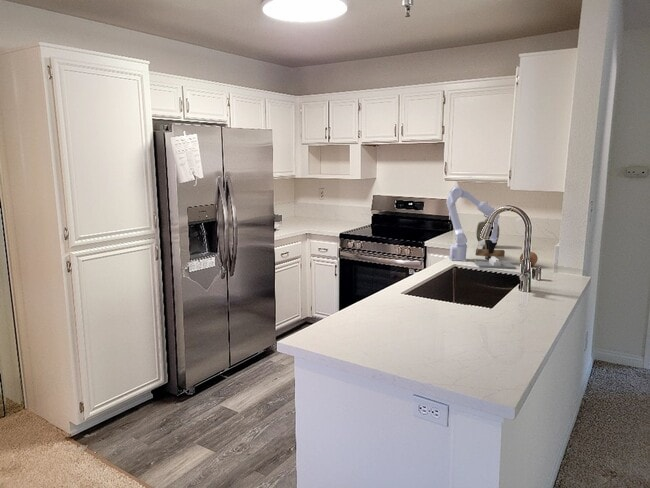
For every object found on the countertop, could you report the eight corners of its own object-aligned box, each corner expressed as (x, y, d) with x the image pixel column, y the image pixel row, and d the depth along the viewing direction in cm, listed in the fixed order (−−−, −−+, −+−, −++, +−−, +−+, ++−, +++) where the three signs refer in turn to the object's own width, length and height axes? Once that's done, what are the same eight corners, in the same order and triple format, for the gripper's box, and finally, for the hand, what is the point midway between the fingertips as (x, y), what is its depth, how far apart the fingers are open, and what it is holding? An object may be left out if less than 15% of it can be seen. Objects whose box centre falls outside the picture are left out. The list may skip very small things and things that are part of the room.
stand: (479, 267, 266) (479, 259, 265) (474, 262, 277) (474, 255, 277) (515, 269, 264) (516, 261, 263) (509, 264, 276) (509, 256, 275)
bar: (476, 255, 281) (477, 249, 280) (475, 254, 284) (476, 248, 283) (504, 256, 279) (504, 251, 279) (502, 255, 282) (503, 250, 282)
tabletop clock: (475, 247, 329) (478, 211, 325) (475, 245, 338) (477, 210, 333) (497, 248, 326) (501, 212, 321) (496, 246, 334) (499, 211, 330)
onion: (521, 269, 277) (516, 253, 279) (538, 266, 275) (533, 250, 277) (523, 267, 268) (519, 250, 270) (541, 263, 266) (536, 246, 268)
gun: (483, 261, 312) (484, 239, 314) (493, 258, 285) (494, 233, 287) (475, 261, 313) (476, 238, 314) (485, 257, 286) (486, 233, 287)
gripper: (502, 232, 271) (500, 255, 274) (495, 228, 286) (493, 250, 288) (490, 231, 272) (487, 254, 274) (483, 228, 286) (481, 250, 288)
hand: (489, 252), depth 281 cm, fingers closed on bar, 3 cm apart
